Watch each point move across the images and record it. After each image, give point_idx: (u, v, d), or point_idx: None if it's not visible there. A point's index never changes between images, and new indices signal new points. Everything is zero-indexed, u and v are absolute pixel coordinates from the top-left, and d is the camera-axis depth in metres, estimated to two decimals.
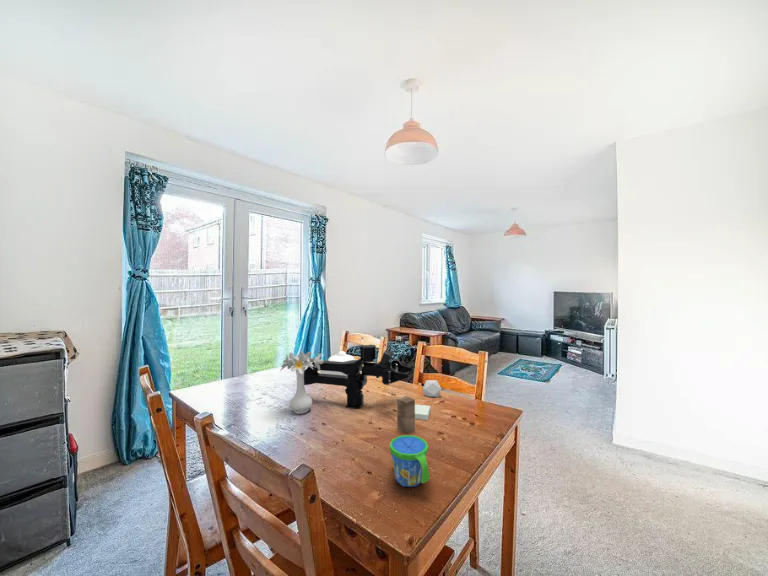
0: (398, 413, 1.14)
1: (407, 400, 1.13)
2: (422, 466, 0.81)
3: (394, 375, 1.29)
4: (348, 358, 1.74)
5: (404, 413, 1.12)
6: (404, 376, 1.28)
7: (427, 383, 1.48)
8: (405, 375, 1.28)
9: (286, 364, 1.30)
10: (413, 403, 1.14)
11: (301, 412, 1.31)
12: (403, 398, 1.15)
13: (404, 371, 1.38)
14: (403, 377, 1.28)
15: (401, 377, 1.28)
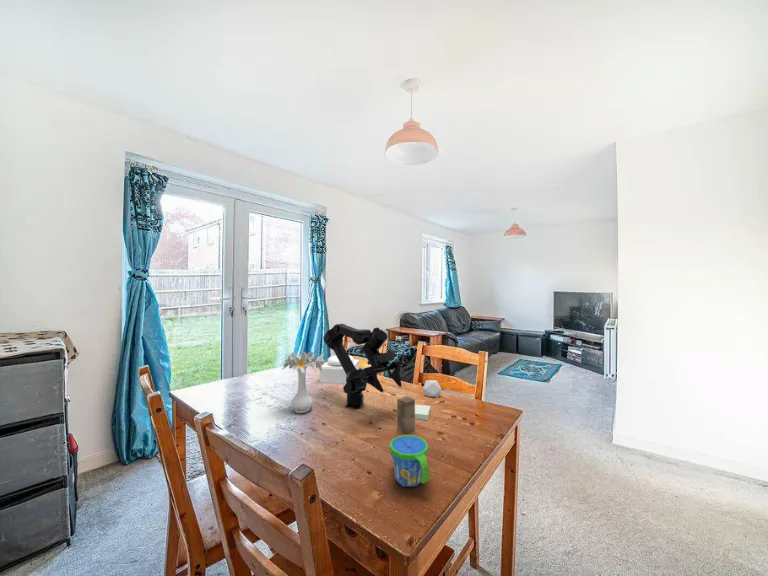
0: (398, 413, 1.14)
1: (407, 400, 1.13)
2: (422, 466, 0.81)
3: (373, 379, 1.20)
4: None
5: (404, 413, 1.12)
6: (379, 388, 1.18)
7: (427, 383, 1.48)
8: (380, 389, 1.18)
9: (288, 363, 1.31)
10: (413, 403, 1.14)
11: (302, 411, 1.32)
12: (403, 398, 1.15)
13: (394, 379, 1.26)
14: (377, 388, 1.19)
15: (376, 387, 1.19)
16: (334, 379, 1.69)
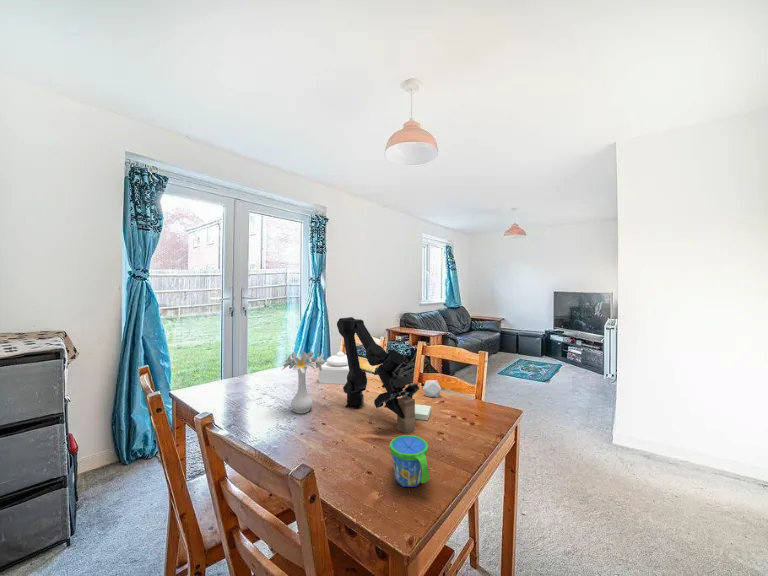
0: None
1: (407, 400, 1.13)
2: (422, 466, 0.81)
3: (393, 404, 1.14)
4: (346, 359, 1.73)
5: (404, 413, 1.12)
6: (399, 414, 1.12)
7: (427, 383, 1.48)
8: (401, 415, 1.12)
9: (288, 363, 1.30)
10: (413, 403, 1.14)
11: (302, 412, 1.32)
12: (403, 398, 1.15)
13: None
14: (398, 414, 1.13)
15: (397, 413, 1.13)
16: (333, 379, 1.69)
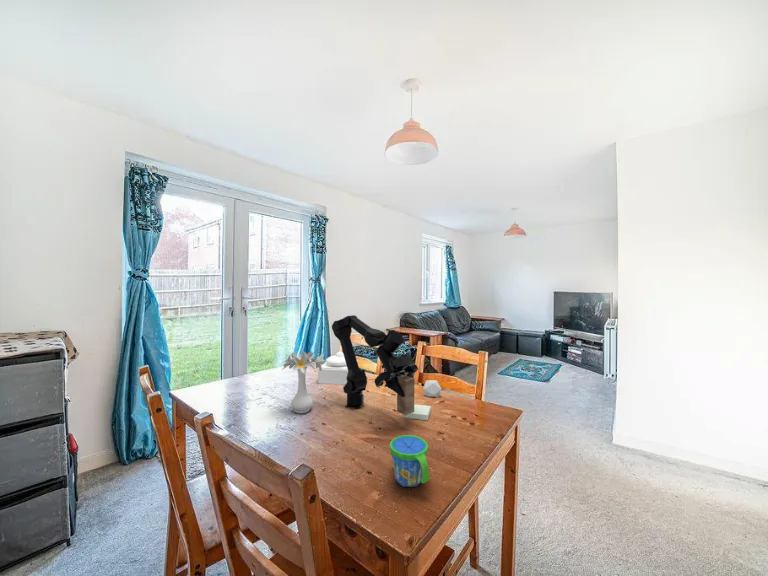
0: None
1: (407, 379, 1.15)
2: (422, 466, 0.81)
3: (393, 383, 1.16)
4: None
5: (404, 391, 1.14)
6: (399, 393, 1.14)
7: (427, 383, 1.48)
8: (401, 393, 1.14)
9: (288, 363, 1.30)
10: (413, 382, 1.16)
11: (302, 412, 1.32)
12: (403, 377, 1.17)
13: None
14: (398, 393, 1.15)
15: (397, 391, 1.15)
16: (333, 380, 1.68)
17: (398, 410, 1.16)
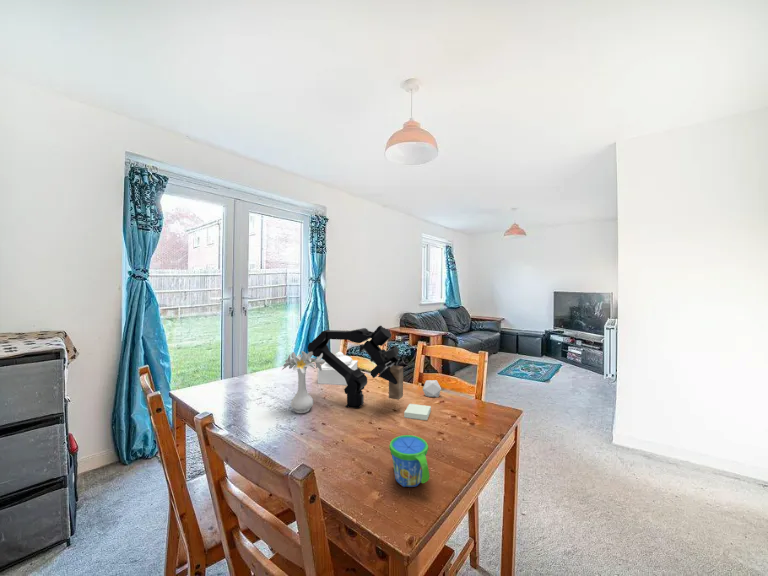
0: None
1: (398, 368, 1.30)
2: (422, 466, 0.81)
3: (386, 373, 1.29)
4: (345, 359, 1.72)
5: (397, 379, 1.28)
6: (393, 381, 1.28)
7: (427, 383, 1.48)
8: (394, 381, 1.28)
9: (288, 363, 1.30)
10: (402, 370, 1.32)
11: (302, 412, 1.32)
12: (393, 367, 1.31)
13: None
14: (391, 381, 1.29)
15: (390, 380, 1.29)
16: (332, 380, 1.68)
17: (390, 396, 1.30)
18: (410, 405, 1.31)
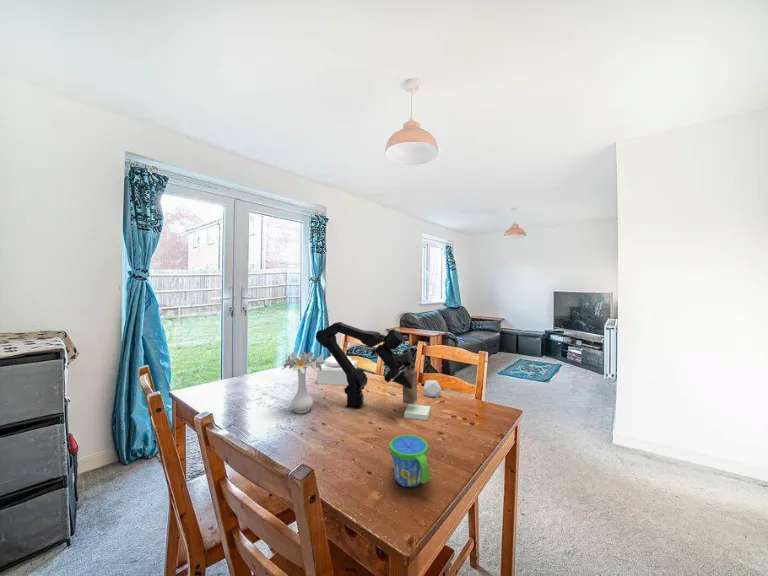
0: None
1: (412, 372, 1.28)
2: (422, 466, 0.81)
3: (400, 377, 1.27)
4: None
5: (411, 383, 1.26)
6: (407, 385, 1.26)
7: (427, 383, 1.48)
8: (408, 385, 1.26)
9: (288, 363, 1.30)
10: (416, 374, 1.29)
11: (302, 412, 1.32)
12: (407, 371, 1.29)
13: None
14: (405, 385, 1.26)
15: (404, 384, 1.26)
16: (332, 380, 1.67)
17: (404, 401, 1.27)
18: (410, 405, 1.31)
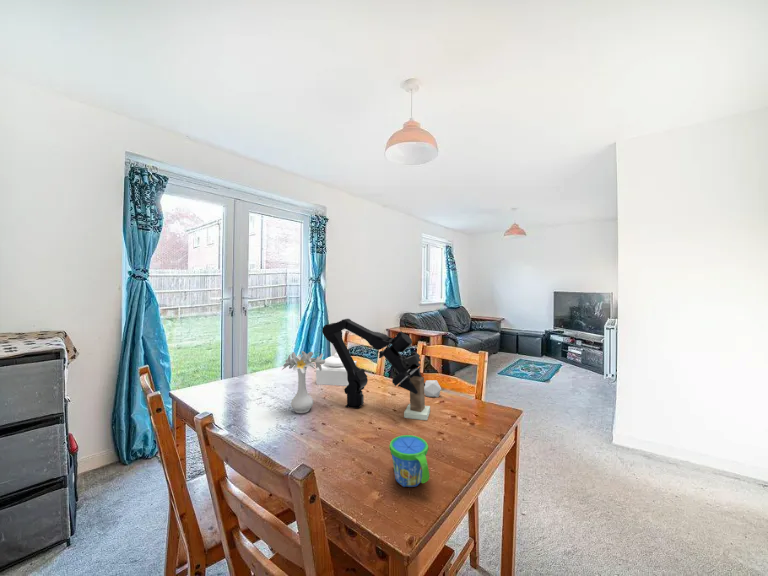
0: (411, 392, 1.26)
1: (419, 379, 1.26)
2: (422, 466, 0.81)
3: (406, 382, 1.23)
4: None
5: (418, 390, 1.25)
6: (413, 390, 1.23)
7: (427, 383, 1.48)
8: (414, 390, 1.22)
9: (288, 363, 1.30)
10: (423, 381, 1.28)
11: (302, 412, 1.32)
12: (413, 378, 1.28)
13: None
14: (411, 390, 1.23)
15: (410, 389, 1.23)
16: (331, 380, 1.67)
17: (412, 409, 1.26)
18: (409, 405, 1.31)
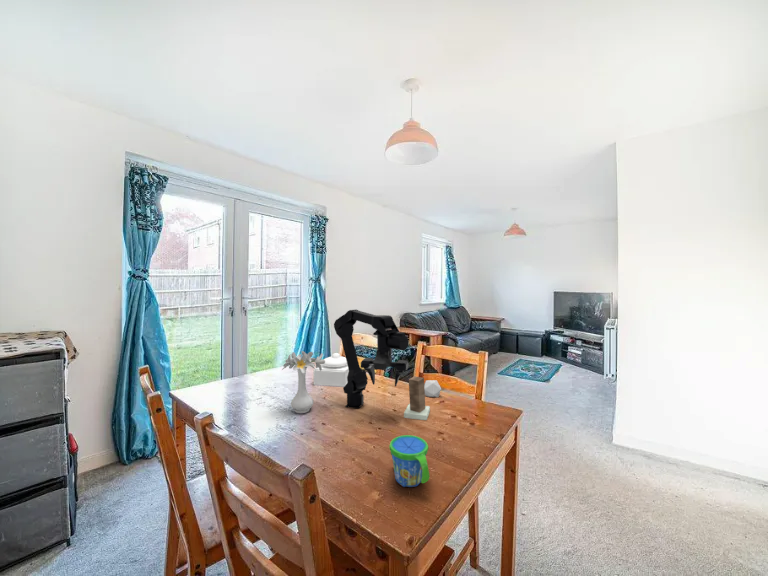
0: (410, 392, 1.27)
1: (418, 379, 1.26)
2: (422, 466, 0.81)
3: None
4: (342, 360, 1.70)
5: (417, 391, 1.25)
6: None
7: (427, 383, 1.48)
8: None
9: (288, 363, 1.30)
10: (423, 381, 1.27)
11: (302, 412, 1.32)
12: (413, 378, 1.28)
13: None
14: None
15: None
16: (328, 381, 1.65)
17: (411, 408, 1.27)
18: (409, 405, 1.31)
